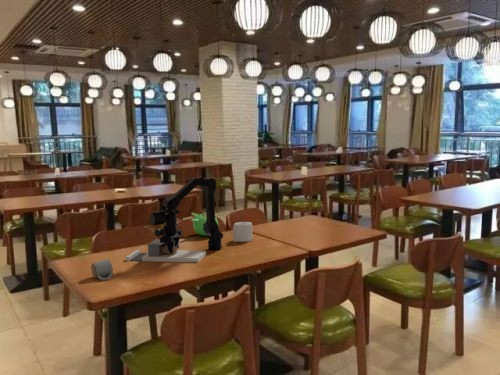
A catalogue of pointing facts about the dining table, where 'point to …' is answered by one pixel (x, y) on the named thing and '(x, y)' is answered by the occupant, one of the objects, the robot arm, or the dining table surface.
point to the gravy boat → (200, 223)
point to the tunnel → (154, 248)
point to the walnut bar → (165, 250)
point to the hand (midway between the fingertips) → (172, 252)
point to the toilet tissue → (242, 232)
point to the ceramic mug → (102, 269)
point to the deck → (168, 256)
